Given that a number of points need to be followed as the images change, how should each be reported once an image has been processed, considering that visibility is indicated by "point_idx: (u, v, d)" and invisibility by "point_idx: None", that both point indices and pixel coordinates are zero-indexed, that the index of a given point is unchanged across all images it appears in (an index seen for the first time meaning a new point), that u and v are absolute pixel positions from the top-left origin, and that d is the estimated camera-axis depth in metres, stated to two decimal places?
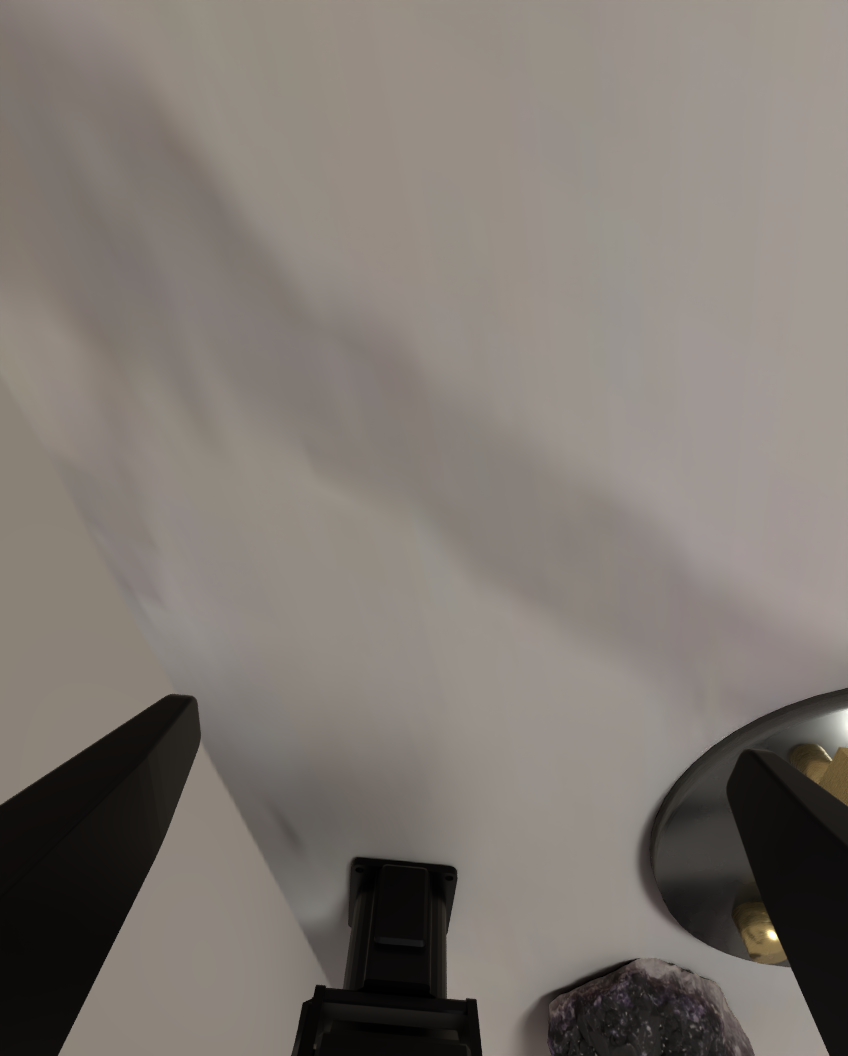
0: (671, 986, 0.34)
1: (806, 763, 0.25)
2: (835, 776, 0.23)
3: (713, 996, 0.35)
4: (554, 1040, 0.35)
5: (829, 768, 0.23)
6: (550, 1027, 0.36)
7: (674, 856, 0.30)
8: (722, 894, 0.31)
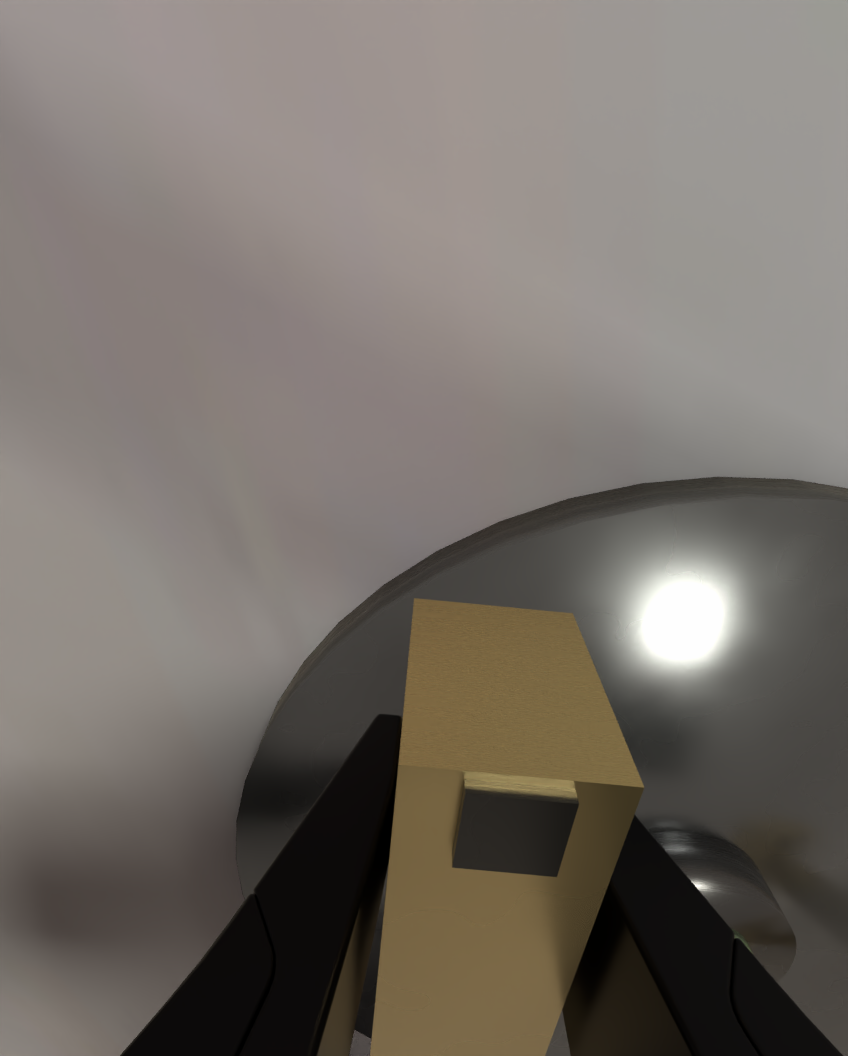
0: None
1: None
2: None
3: None
4: None
5: None
6: None
7: None
8: None
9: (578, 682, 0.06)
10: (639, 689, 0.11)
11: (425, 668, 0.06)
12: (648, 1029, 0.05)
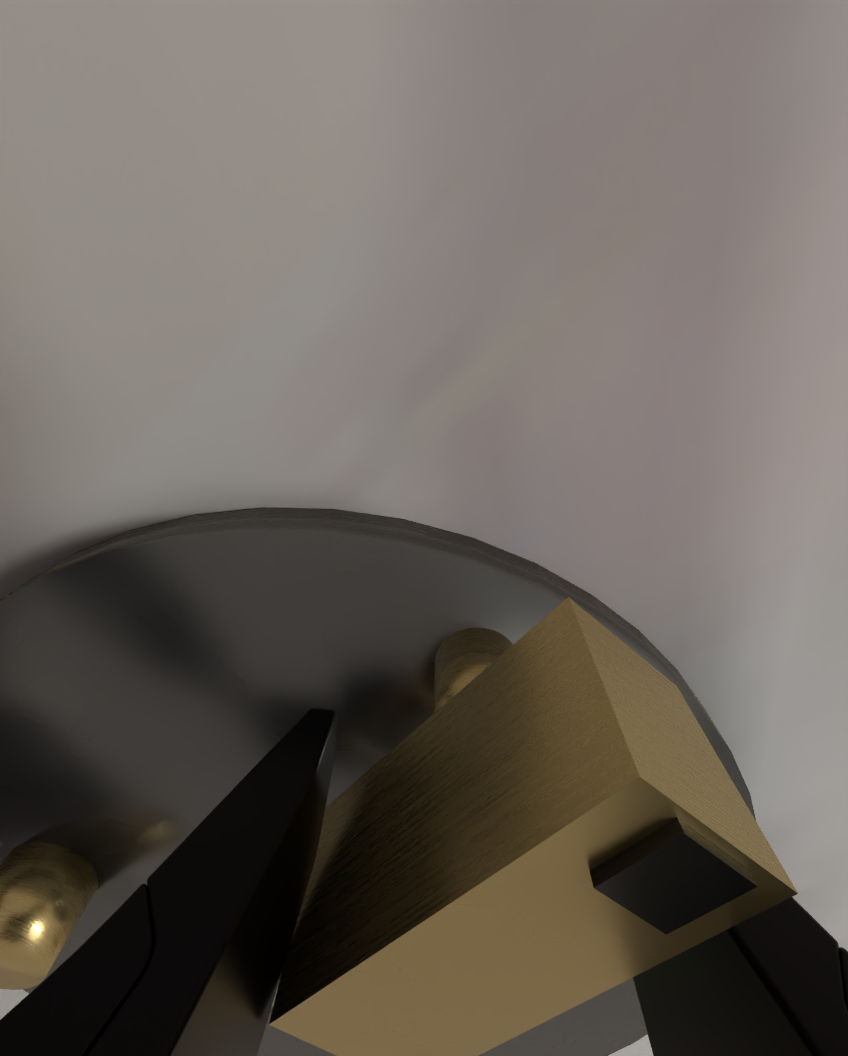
0: None
1: (462, 660, 0.09)
2: (507, 676, 0.07)
3: None
4: None
5: (506, 655, 0.07)
6: None
7: (13, 647, 0.11)
8: (34, 800, 0.13)
9: (712, 760, 0.06)
10: None
11: (610, 679, 0.06)
12: (760, 1039, 0.05)
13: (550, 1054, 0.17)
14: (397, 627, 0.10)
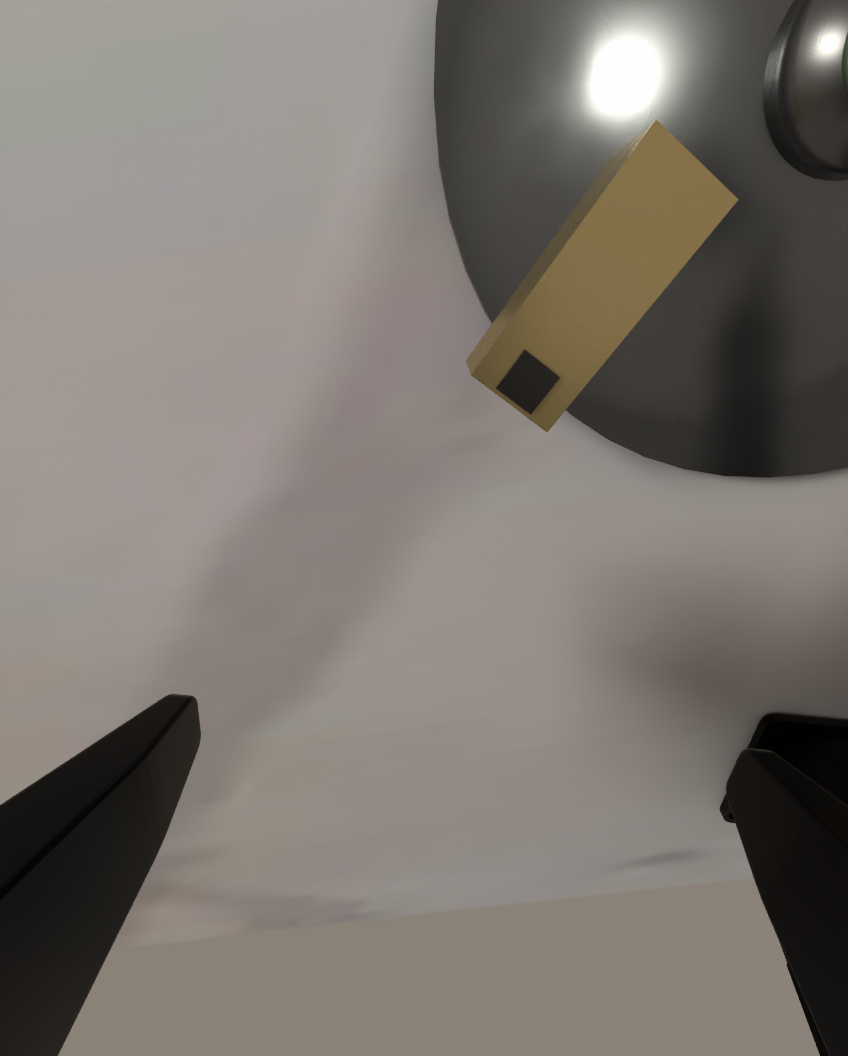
0: None
1: None
2: None
3: None
4: None
5: None
6: None
7: (782, 451, 0.17)
8: None
9: None
10: (590, 144, 0.14)
11: None
12: None
13: None
14: None
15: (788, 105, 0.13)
